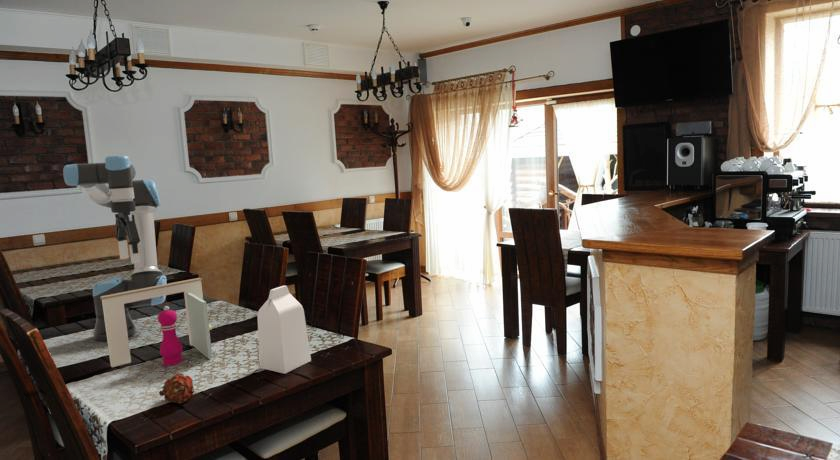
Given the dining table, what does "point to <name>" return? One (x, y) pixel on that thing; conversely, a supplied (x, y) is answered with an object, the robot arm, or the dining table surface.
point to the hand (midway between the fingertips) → (130, 260)
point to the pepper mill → (169, 338)
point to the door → (199, 324)
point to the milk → (282, 332)
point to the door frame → (117, 319)
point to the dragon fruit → (177, 389)
